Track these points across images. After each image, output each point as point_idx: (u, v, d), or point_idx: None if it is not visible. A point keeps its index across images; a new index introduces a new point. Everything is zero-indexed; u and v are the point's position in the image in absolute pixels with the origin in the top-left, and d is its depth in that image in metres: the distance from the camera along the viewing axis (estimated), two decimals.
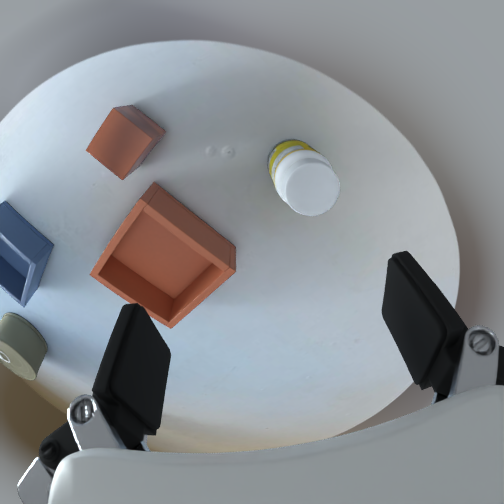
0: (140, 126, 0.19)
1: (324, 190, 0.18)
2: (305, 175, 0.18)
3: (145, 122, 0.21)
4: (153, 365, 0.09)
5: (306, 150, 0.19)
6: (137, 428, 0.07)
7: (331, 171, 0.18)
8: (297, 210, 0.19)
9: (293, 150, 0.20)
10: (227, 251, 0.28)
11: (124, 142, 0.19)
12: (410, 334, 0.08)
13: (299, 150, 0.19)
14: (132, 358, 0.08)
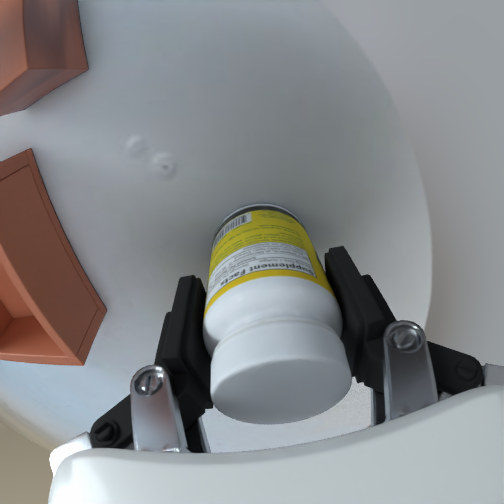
0: (33, 33, 0.05)
1: (304, 403, 0.07)
2: (290, 376, 0.06)
3: (59, 33, 0.06)
4: None
5: (320, 288, 0.08)
6: (201, 399, 0.08)
7: (347, 382, 0.07)
8: (223, 410, 0.07)
9: (291, 266, 0.08)
10: (86, 322, 0.13)
11: None
12: None
13: (305, 279, 0.08)
14: (196, 326, 0.09)
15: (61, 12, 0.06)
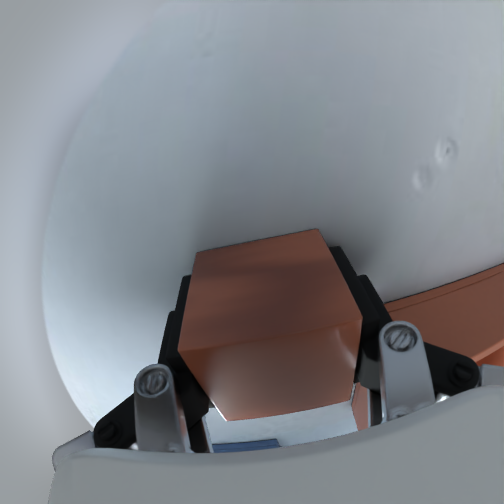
0: (292, 314, 0.07)
1: None
2: None
3: (275, 272, 0.08)
4: None
5: None
6: (204, 398, 0.08)
7: None
8: None
9: None
10: None
11: (296, 372, 0.07)
12: None
13: None
14: None
15: (233, 272, 0.08)
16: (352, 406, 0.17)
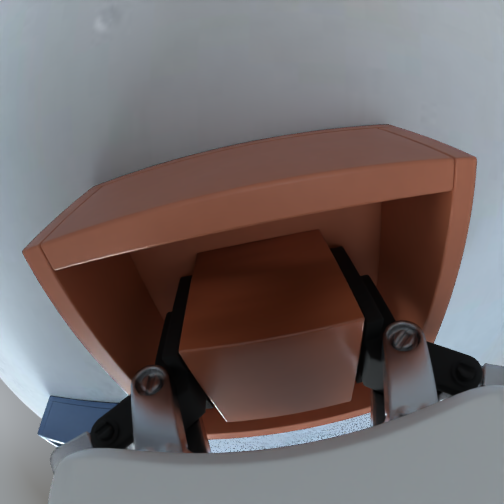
0: (293, 315, 0.07)
1: None
2: None
3: (276, 273, 0.08)
4: None
5: None
6: (201, 399, 0.08)
7: None
8: None
9: None
10: (393, 136, 0.06)
11: (298, 373, 0.07)
12: None
13: None
14: None
15: (234, 273, 0.08)
16: None
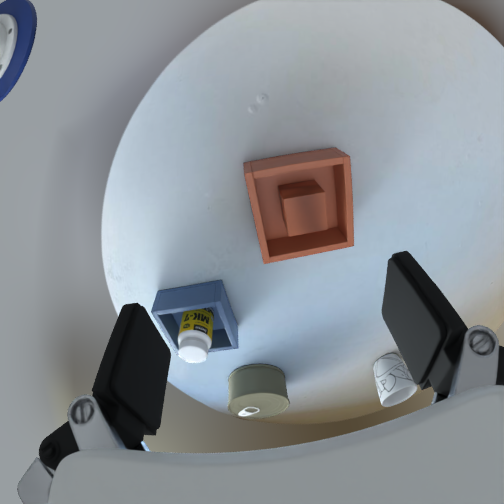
0: (309, 192, 0.28)
1: (195, 352, 0.34)
2: (183, 354, 0.35)
3: (303, 187, 0.30)
4: (153, 365, 0.09)
5: (179, 335, 0.36)
6: (137, 428, 0.07)
7: (186, 346, 0.34)
8: (199, 362, 0.36)
9: None
10: (332, 152, 0.28)
11: (310, 209, 0.29)
12: (410, 334, 0.08)
13: (178, 336, 0.36)
14: (132, 358, 0.08)
15: (292, 187, 0.30)
16: None
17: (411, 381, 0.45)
